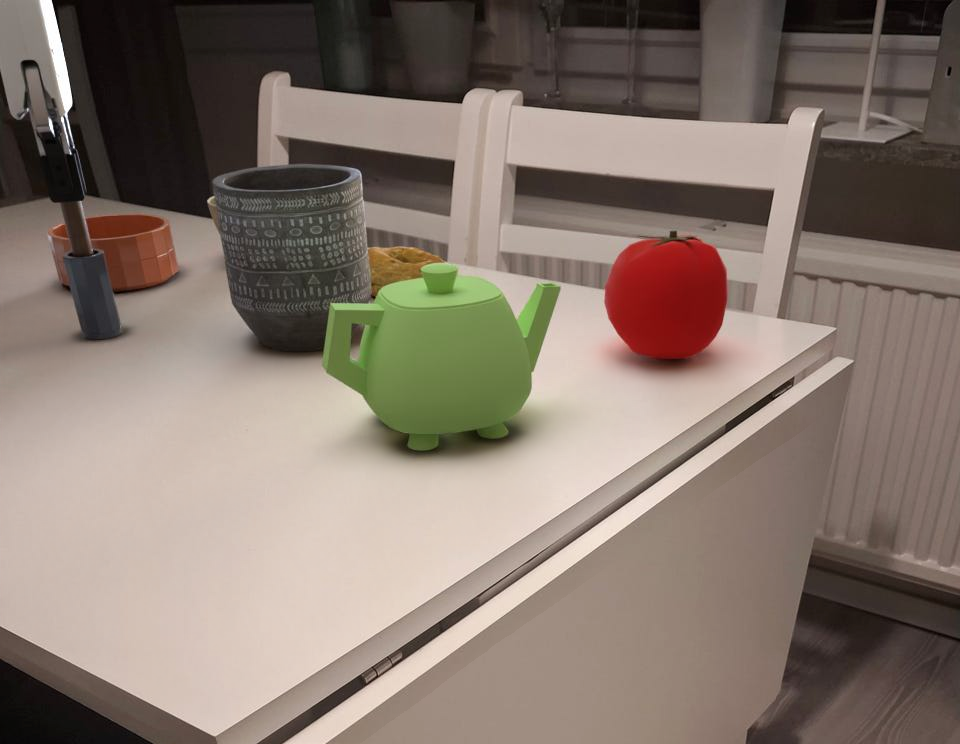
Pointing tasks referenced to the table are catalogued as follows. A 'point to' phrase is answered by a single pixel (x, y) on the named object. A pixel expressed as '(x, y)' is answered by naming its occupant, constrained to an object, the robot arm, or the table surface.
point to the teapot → (441, 353)
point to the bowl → (124, 248)
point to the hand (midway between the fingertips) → (69, 197)
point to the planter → (293, 249)
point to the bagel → (397, 265)
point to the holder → (93, 295)
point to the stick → (77, 229)
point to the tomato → (667, 296)
